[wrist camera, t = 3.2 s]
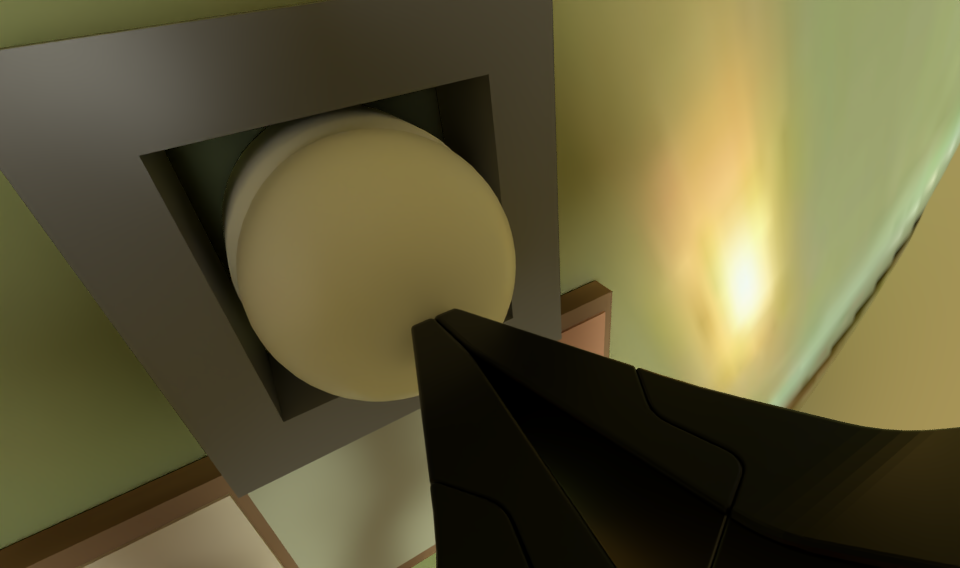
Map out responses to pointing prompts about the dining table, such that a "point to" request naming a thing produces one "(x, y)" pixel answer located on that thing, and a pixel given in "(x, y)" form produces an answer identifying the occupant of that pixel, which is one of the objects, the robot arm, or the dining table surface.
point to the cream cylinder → (360, 246)
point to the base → (249, 105)
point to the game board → (285, 501)
